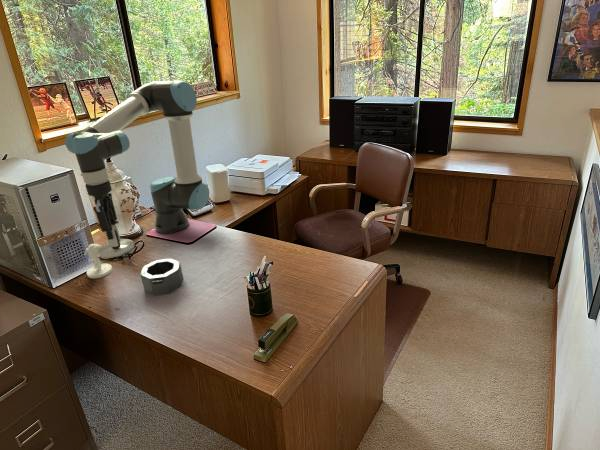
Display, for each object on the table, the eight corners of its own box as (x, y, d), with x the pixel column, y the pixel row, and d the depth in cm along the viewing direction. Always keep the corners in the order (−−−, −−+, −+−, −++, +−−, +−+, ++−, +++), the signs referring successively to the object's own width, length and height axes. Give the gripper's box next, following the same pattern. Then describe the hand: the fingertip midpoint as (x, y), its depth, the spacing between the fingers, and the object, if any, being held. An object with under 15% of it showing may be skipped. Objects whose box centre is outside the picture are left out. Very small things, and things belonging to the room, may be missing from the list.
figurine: (82, 275, 165) (72, 248, 160) (101, 264, 172) (93, 237, 167) (98, 280, 161) (89, 252, 156) (117, 268, 168) (109, 241, 163)
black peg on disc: (104, 243, 158) (99, 226, 155) (137, 239, 159) (133, 222, 156) (94, 259, 147) (88, 241, 144) (130, 255, 148) (125, 237, 145)
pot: (150, 275, 161) (146, 259, 158) (184, 271, 162) (181, 255, 159) (141, 299, 147) (137, 282, 144) (180, 294, 148) (176, 277, 145)
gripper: (92, 175, 149) (110, 235, 159) (77, 191, 135) (98, 256, 145) (114, 172, 150) (131, 232, 160) (101, 188, 135) (120, 253, 145)
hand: (115, 243), depth 152 cm, fingers closed on black peg on disc, 3 cm apart
